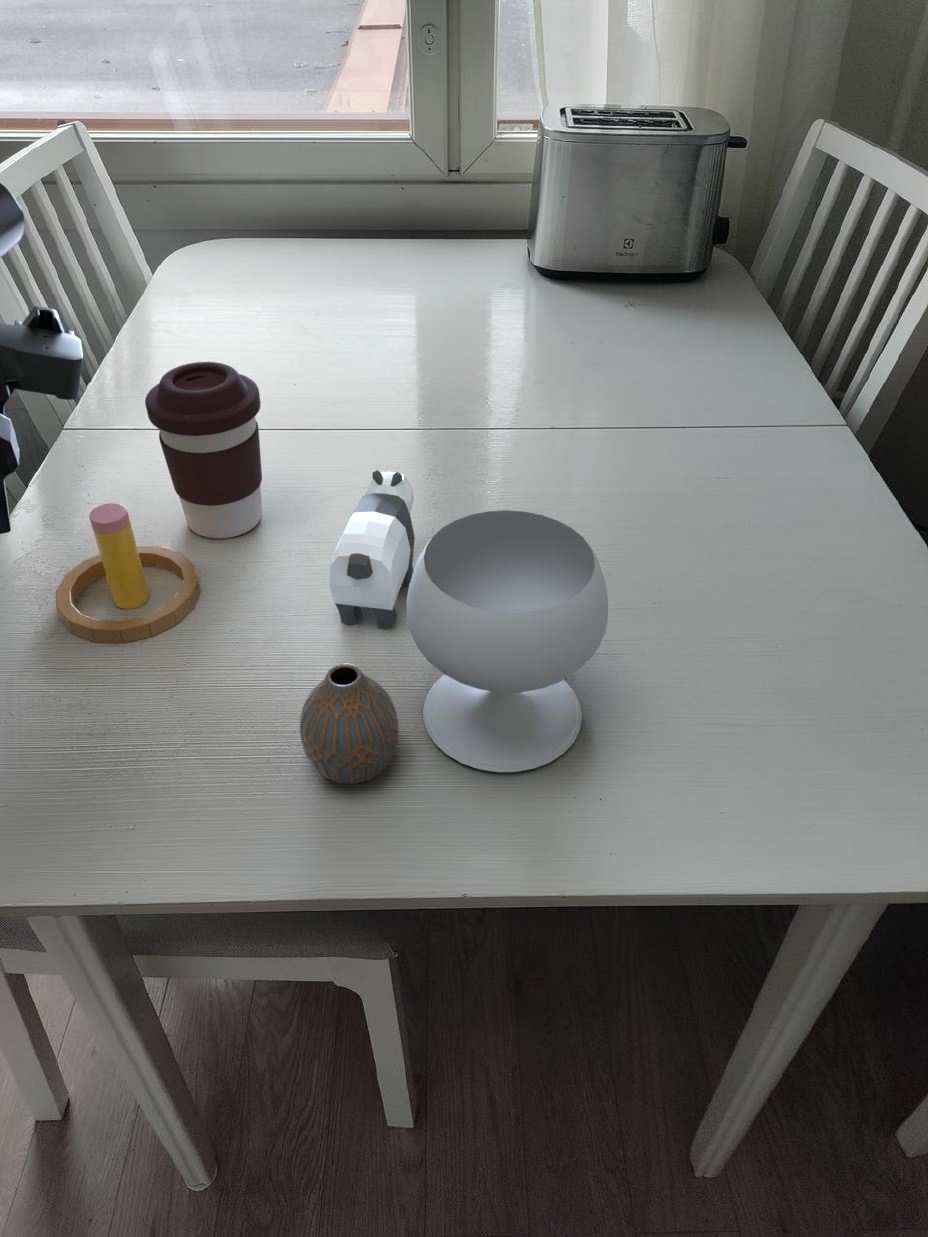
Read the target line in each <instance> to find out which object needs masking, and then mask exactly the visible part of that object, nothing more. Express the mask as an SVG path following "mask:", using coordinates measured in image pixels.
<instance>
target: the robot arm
mask: <svg viewBox="0 0 928 1237" xmlns="http://www.w3.org/2000/svg"><path fill="white" fill-rule="evenodd" d="M25 224H26V223H25V216H24V212H23V209H22V206H21V205H20V203H18V201H17V200H16V198H15V196H14V195H13V194H12V193H11V191H9V189H8V188H7V187H6V186H4V185H3V184H2V183H1V182H0V259H1V258H3V257H4V256H5V255H6V254H8V252H10V251H11V250H12V249H13V248H14V247H16V246H17V244H18V243H19V242H20V241H21V240H22V237H23V235H24V232H25ZM83 360H84V355H83V346H82V340H81V339H80V338H79V337H77V335H75V331H74V330H69V329H68V330H67V333H66V332H65V329H64V326H63V324H62V322H61V320H60V316H59V314H58V312H57V310H56V309H55V308H50V307H45V306H40V305H35V306H34V307H33V308H32V309H31V311H30V312H29V314H28V315H27V316H26V317H25V319H24V320H23V321H22V322H21V321H20V320H14V324H8V323H1V322H0V535H2V534H7V533H10V532H11V531H12V530H11V529H12V526H11V518H10V511H9V503H8V493H7V486H6V480H5V479H6V478H7V477H8V476H9V475H12V474H14V473H15V472H16V471H17V470H18V469H19V467H20V446H19V444H18V440H17V435H16V430H15V429H14V426H13V422H12V420H11V418H8V417H6V412H5V411H6V410H5V405H6V404H7V402H8V401H9V399H11V396H13V393H14V392H15V390H17V391H19V390H20V391H23V392H29V393H36V394H43V395H49V396H55V397H56V398H57V399H59V400H67V401H71V400H75V399H77V398H79V390H80V385H81V384H80V382H81V376H82V368H83V362H84V361H83Z"/></svg>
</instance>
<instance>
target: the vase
mask: <svg viewBox="0 0 928 1237" xmlns="http://www.w3.org/2000/svg"><path fill="white" fill-rule="evenodd" d="M299 736H300V743H301V745H302V749H303V753H304V754H305V756H306V758H307V760H308V762H309V763H310V764H311V766H312V767H313V768H314V769H315V770H316V772H318V773H319V774H320V775H321V776H323V777H325V778H326V779H328V780H331V781H333V782H336V783H339V784H347V785H349V784H350V785H352V784H360V783H363V782H366V781H369V780H371V779H372V778H375V777H376V776H378V775H379V774H380V773H381V772H382V771H384V770H385V769H386V767H387V766H388V765H389V763H390V762H391V760H392V759H393V756H394V755H395V751H396V749H397V745H398V740H399V717H398V714H397V710H396V707H395V704H394V702H393V700H392V699H391V697H390V695H389V694H388V692H387V691H386V689H385V688H384V687H383V686H382V685H380V684H379V683H378V682H377V680H374V679H373V678H371V677H369V676H367V675H365V674H364V672H362V670H361V668H360V667H358V666H356V665H355V664H353V663H339V664H336V665H333V666H331V667H330V668H329V670H327V672H326V674H325V676H324V678H323V679H321V681H320V682H319V683H318V684H317V685H315V687H313V689H312V690H311V691H310V693H309V694H308V695H307V697H306V699H305V701H304V704H303V706H302V710H301V713H300V718H299Z"/></svg>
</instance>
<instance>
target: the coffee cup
mask: <svg viewBox="0 0 928 1237" xmlns="http://www.w3.org/2000/svg"><path fill="white" fill-rule="evenodd" d="M144 399H145V400H144V404H145V409H146V414H147V417H148V420H149V421H150V423H151V424H152V425H153V426H154V427H155V428H157V429H158V431H159V433H158V438H159V443H160V446H161V450H162V453H163V456H164V460H165V463H166V466H167V469H168V472H169V476H170V479H171V483H172V486H173V488H174V491H175V494H176V495H177V496H178V497H179V499H180V504H181V507H182V508H181V509H182V511H183V515H184V518H185V520H186V524H187V525H188V527H189V528H190V529H191V530H192V531H193V533H195V534H197V535H199V536H201V537H205V538H209V539H228V538H234V537H237V536H241V535H243V534H245V533H248V532H249V531H251V530H252V529H254V528H255V527H256V526H257V525H258V523H259V522H260V521H261V519H262V516H263V503H262V502H263V501H262V487H261V484H262V481H263V474H262V473H263V472H262V471H263V470H262V457H261V443H260V430H259V428H260V427H259V423H258V421H257V419H256V416H257V415H258V413H259V412H260V409H261V395H260V389H259V386H258V384H257V383H256V382H255V381H254V380H252V378H249V377H248V376H246V375H244V374H241V373H239V372H238V371H237V369H236V368H234V367H232V366H230V365H228V364H225V363H221V362H217V361H196V362H190V363H185V364H181V365H179V366H176V367H174V368H172V369H169V370H168V371H167V372H166V373H165V374H163V375H162V376H161V378H160V380H159V383H157V384H155V385H154V386H153V387H152V388H151V389H150V390H149V391H148V393H147V394H146V397H145V398H144Z"/></svg>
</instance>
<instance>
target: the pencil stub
mask: <svg viewBox="0 0 928 1237" xmlns="http://www.w3.org/2000/svg"><path fill="white" fill-rule="evenodd" d="M88 517H89V521H90V526H91V529H92V531H93V535H94V538H95V542H96V545H97V548H98V552H99V554H100V555H101V559H102V562H103V566H104V569H105V572H106V574H105V576H106V579H107V583H108V586H109V589H110V592H111V596H112V599H113V601H114V604H115V606H117V607H118V608H120V609H125V610H132V609H136V608H139V607H141V606H143V605H145V604H146V603H147V602H148V600H149V599H150V591H149V588H148V584H147V580H146V576H145V572H144V568H143V566H142V565H141V561H140V557H139V553H138V549H137V546H138V545H137V542H136V538H135V535H134V531H133V527H132V522H131V519H130V516H129V512H128V509H127V507H126V506H125V505H123V504H120V503H116V502H115V503H114V502H113V503H111V502H110V503H104V504H102V505H98V506H97V507H95V508H93V509H92V510H91V511H90V513H89V515H88Z"/></svg>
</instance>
